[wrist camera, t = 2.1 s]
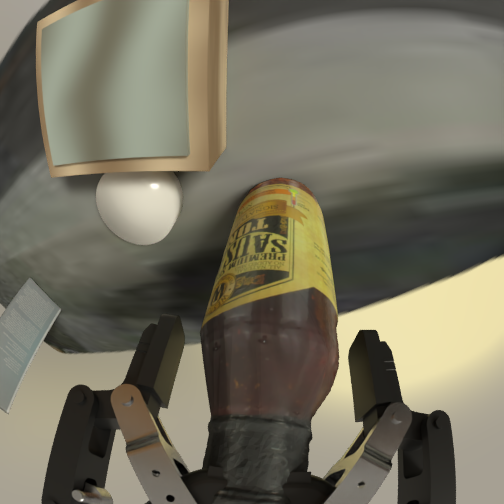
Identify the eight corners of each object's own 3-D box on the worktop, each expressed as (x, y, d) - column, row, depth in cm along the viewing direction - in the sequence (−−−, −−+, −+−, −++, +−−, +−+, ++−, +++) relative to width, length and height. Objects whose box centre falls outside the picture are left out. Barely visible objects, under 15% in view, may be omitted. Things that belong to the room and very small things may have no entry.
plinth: (229, -12, 11) (209, -40, 6) (226, 147, 18) (207, 173, 14) (80, 23, 12) (33, 22, 7) (88, 153, 19) (47, 179, 14)
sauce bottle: (279, 156, 18) (248, 554, 2) (336, 212, 20) (390, 518, 4) (220, 214, 21) (129, 502, 6) (277, 259, 24) (258, 520, 8)
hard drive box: (39, 326, 39) (-3, 406, 23) (13, 299, 36) (-34, 378, 20) (63, 309, 33) (8, 416, 18) (30, 274, 30) (-37, 378, 14)
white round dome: (180, 152, 19) (168, 162, 17) (187, 231, 23) (179, 248, 21) (104, 156, 19) (88, 167, 17) (119, 227, 23) (107, 241, 21)
